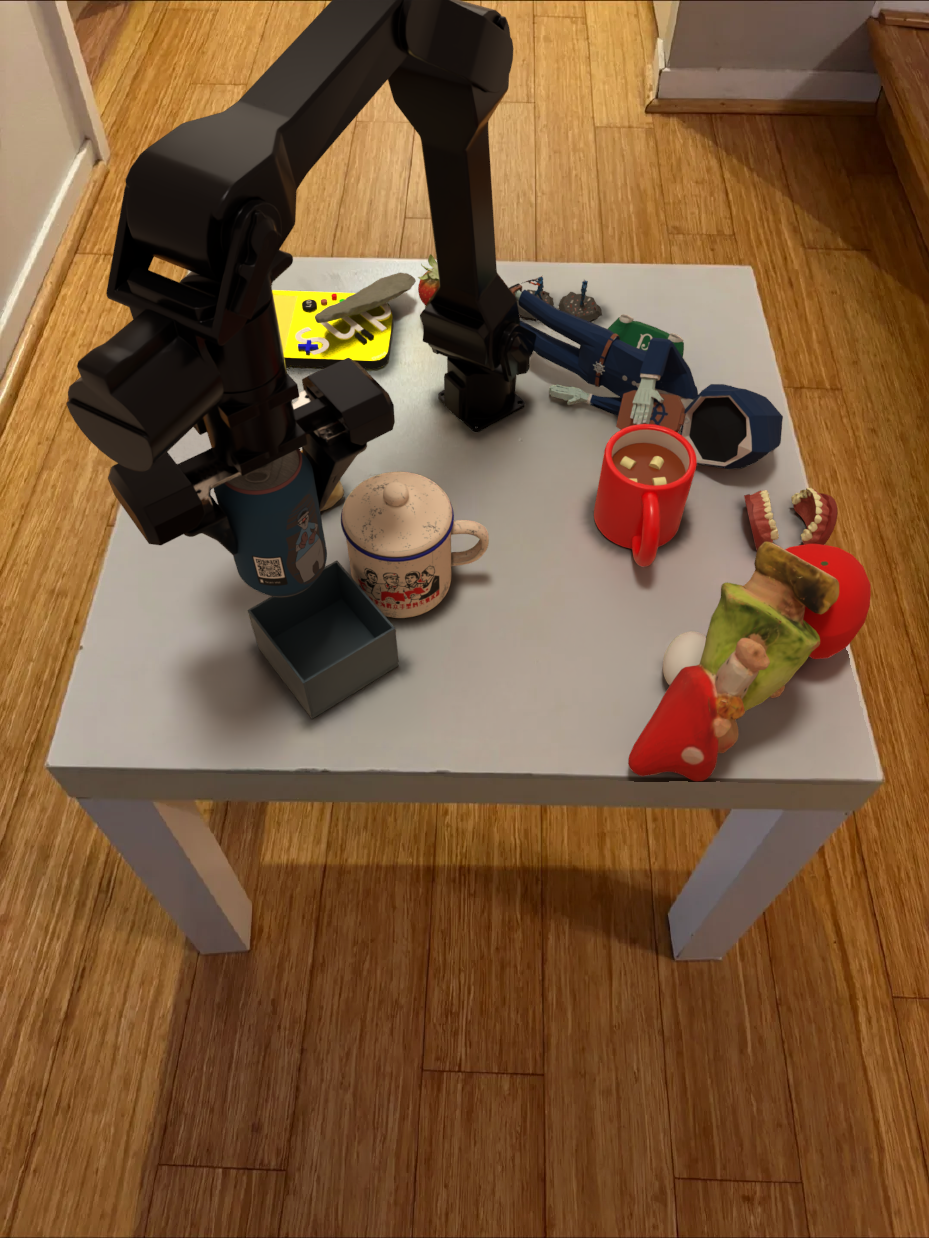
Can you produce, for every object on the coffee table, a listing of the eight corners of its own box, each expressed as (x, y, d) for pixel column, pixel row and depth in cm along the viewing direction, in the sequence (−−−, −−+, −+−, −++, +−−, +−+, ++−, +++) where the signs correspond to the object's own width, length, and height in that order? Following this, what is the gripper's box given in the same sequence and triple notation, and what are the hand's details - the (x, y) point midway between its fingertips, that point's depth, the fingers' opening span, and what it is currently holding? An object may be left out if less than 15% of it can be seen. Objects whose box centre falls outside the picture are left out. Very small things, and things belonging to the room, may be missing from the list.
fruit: (425, 305, 107) (423, 240, 100) (473, 311, 106) (474, 246, 100) (414, 335, 104) (411, 270, 97) (463, 342, 103) (464, 277, 97)
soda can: (247, 532, 78) (217, 421, 68) (333, 536, 78) (316, 425, 68) (232, 602, 74) (198, 496, 64) (323, 606, 74) (303, 500, 64)
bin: (343, 599, 84) (336, 560, 80) (398, 665, 81) (395, 628, 76) (258, 648, 82) (246, 610, 77) (311, 719, 78) (303, 683, 73)
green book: (671, 399, 102) (696, 344, 100) (664, 394, 98) (690, 337, 97) (592, 367, 104) (616, 313, 103) (583, 361, 101) (607, 305, 99)
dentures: (744, 474, 87) (833, 476, 88) (732, 504, 91) (818, 505, 91) (754, 524, 84) (846, 525, 85) (741, 553, 88) (829, 554, 88)
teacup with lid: (348, 624, 83) (334, 536, 73) (351, 541, 88) (338, 448, 79) (489, 619, 83) (494, 531, 74) (484, 537, 89) (487, 445, 79)
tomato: (814, 619, 72) (806, 697, 78) (910, 558, 75) (896, 638, 81) (723, 562, 78) (722, 638, 84) (815, 508, 82) (808, 585, 87)
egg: (715, 653, 82) (726, 627, 78) (695, 711, 78) (706, 686, 75) (671, 638, 82) (679, 611, 79) (650, 694, 79) (658, 669, 76)
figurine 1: (473, 275, 89) (761, 434, 80) (550, 226, 96) (824, 368, 87) (459, 378, 98) (716, 531, 89) (530, 326, 105) (776, 464, 96)
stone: (425, 297, 105) (399, 284, 108) (422, 279, 104) (397, 266, 107) (322, 335, 100) (299, 320, 103) (319, 316, 99) (295, 302, 102)
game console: (214, 365, 101) (211, 354, 100) (231, 297, 107) (229, 286, 106) (388, 369, 101) (388, 358, 100) (395, 301, 107) (395, 289, 106)
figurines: (603, 295, 108) (609, 265, 104) (601, 328, 106) (607, 298, 102) (512, 287, 108) (515, 256, 104) (509, 319, 106) (512, 289, 102)
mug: (599, 586, 85) (611, 527, 79) (591, 483, 92) (601, 422, 86) (690, 587, 85) (709, 529, 79) (674, 484, 92) (691, 423, 86)
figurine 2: (873, 601, 73) (723, 817, 77) (775, 546, 78) (639, 752, 81) (841, 574, 64) (673, 820, 68) (733, 513, 68) (581, 746, 72)
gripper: (301, 242, 66) (326, 414, 79) (37, 349, 60) (110, 517, 73) (393, 329, 61) (403, 497, 74) (115, 456, 55) (179, 616, 67)
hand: (275, 528), depth 72 cm, fingers closed on soda can, 7 cm apart
